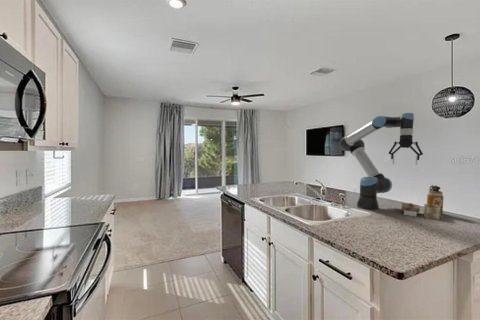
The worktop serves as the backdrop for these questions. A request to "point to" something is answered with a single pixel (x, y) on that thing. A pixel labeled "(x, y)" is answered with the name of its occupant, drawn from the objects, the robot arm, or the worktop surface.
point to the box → (432, 211)
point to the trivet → (410, 213)
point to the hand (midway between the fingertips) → (404, 164)
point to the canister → (435, 197)
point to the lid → (410, 207)
